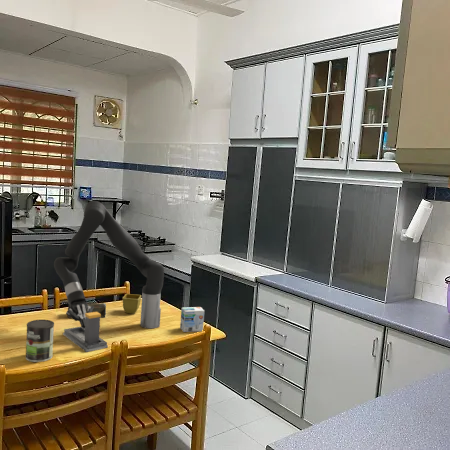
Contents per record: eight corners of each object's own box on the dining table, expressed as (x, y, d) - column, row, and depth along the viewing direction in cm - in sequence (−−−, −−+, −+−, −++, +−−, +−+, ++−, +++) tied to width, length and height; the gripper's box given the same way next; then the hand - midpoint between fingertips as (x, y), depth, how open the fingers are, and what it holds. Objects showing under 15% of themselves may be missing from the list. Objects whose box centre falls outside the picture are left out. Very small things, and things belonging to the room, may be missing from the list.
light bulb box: (183, 332, 227) (184, 311, 226) (179, 327, 234) (180, 307, 232) (203, 331, 231) (205, 310, 230) (199, 326, 238) (200, 306, 236)
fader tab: (83, 342, 201) (85, 313, 199) (95, 340, 204) (96, 311, 203) (87, 345, 198) (89, 315, 196) (99, 343, 202) (100, 314, 200)
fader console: (63, 334, 212) (63, 329, 211) (83, 330, 218) (83, 325, 218) (86, 352, 194) (86, 346, 194) (107, 347, 201) (108, 342, 200)
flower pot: (137, 315, 248) (138, 299, 247) (121, 314, 248) (122, 297, 247) (140, 310, 257) (141, 294, 256) (125, 309, 257) (126, 293, 256)
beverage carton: (105, 318, 240) (106, 306, 239) (67, 319, 234) (67, 306, 233) (105, 313, 247) (105, 301, 246) (67, 314, 242) (68, 302, 241)
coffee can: (40, 364, 179) (41, 329, 178) (19, 358, 183) (20, 324, 181) (58, 355, 189) (59, 322, 187) (38, 350, 192) (39, 317, 191)
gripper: (85, 296, 219) (96, 329, 211) (58, 299, 210) (68, 334, 202) (91, 288, 215) (102, 321, 207) (63, 291, 206) (74, 325, 198)
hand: (85, 327), depth 205 cm, fingers closed
